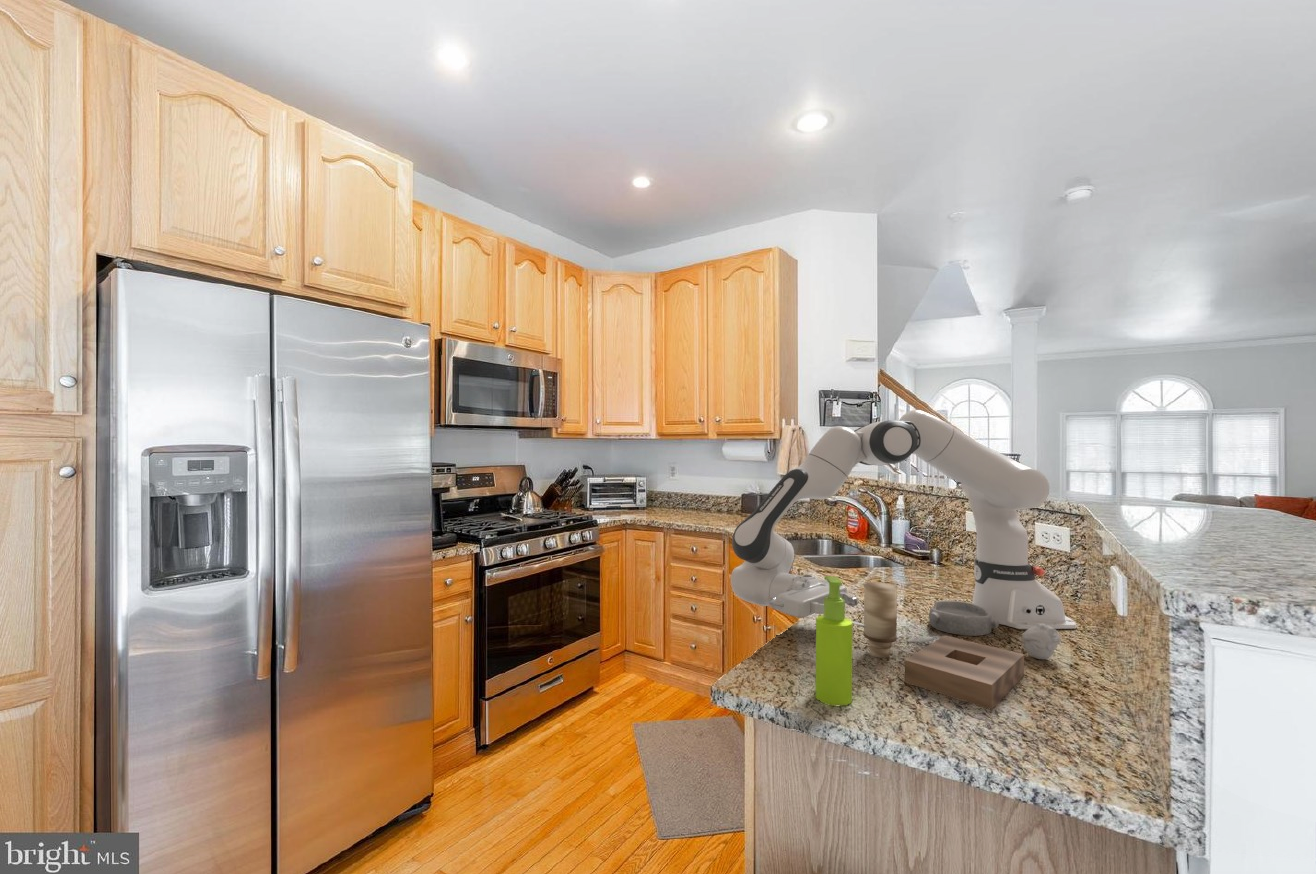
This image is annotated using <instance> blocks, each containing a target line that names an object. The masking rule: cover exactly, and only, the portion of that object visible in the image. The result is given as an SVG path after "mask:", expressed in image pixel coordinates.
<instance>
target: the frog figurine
mask: <svg viewBox="0 0 1316 874" xmlns="http://www.w3.org/2000/svg"><path fill="white" fill-rule="evenodd" d="M1021 643H1022V644H1023V645H1024V648H1025V651H1026V652H1027V654H1028V655H1030V656H1031V657H1033V658H1034V659H1036V660H1037V659H1038V660H1047V659H1049V658H1051V657H1052V656H1053V655H1054V654H1055V649H1057V648H1058V645H1059V644H1060V643H1061V634H1060V633H1059V631H1057V629H1054V628H1052V627H1051V626H1049V625H1046V624H1043V623H1039V624H1037V625H1036V626H1034V627H1031V628H1029V629H1025V631H1024V632H1023V633H1022V636H1021Z"/></svg>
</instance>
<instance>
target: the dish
mask: <svg viewBox="0 0 1316 874" xmlns="http://www.w3.org/2000/svg"><path fill="white" fill-rule="evenodd" d="M928 620H929V623H930V625H931V627H932V628H934V629H935V630H938V631H941V632H944V633H949V634H953V635H958V636H960V635H961V636H971V637H974V636H975V637H976V636H985V635H989V634H990V633H991V631H992V629H997V628H998V627H999V625H1000V624H999V621H998V619H993V618H992V615H991V613H989V612H988V610H987V609H985V608H983V607H980V606H978V605H975V604H972V602H969V601H960V600H936V601H935V602H934V605H933V607H931V608H930V610H929V612H928Z"/></svg>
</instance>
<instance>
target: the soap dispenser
mask: <svg viewBox="0 0 1316 874" xmlns="http://www.w3.org/2000/svg"><path fill="white" fill-rule="evenodd" d="M823 578H824V580H827V581H828V583H829V596H827V597H825V598H824V614H821V615H818V616H817V617H815V684H814V685H815V687H814V688H815V698H816V699H817V700H818V701H819V700H820V701H819V702H821V703H823V704H825V703H826V705H828V704H829V705H828V706H833V705H846V706H849V705H850V704H851V703H853V628H854V627H853V626H854V624H853V623H852V621H853V620H851V619H850V618H847V617H846V614H845V613H846V611H845V610H846V606H845V605H846V603H845V600H844V599H842V598H841V597H840V586H842V585H843V582H842V580H841V579H840V577H838V576H831V575H830V576H828V575H824V576H823ZM848 704H849V705H848Z"/></svg>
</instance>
